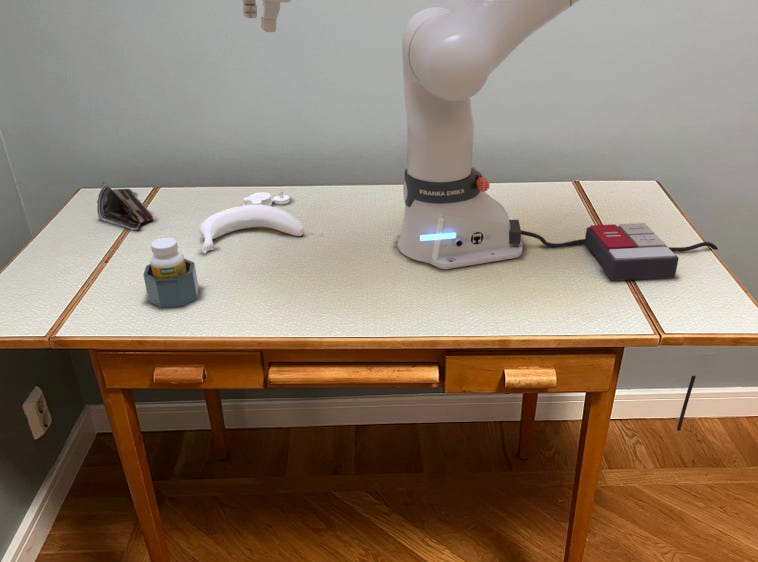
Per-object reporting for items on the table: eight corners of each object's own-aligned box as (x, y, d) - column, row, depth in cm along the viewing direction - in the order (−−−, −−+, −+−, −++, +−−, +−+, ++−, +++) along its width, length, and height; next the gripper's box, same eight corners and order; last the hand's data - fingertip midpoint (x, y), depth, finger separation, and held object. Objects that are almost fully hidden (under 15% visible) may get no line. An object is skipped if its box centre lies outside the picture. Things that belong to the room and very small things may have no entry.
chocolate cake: (168, 221, 149) (140, 170, 149) (141, 224, 143) (112, 170, 144) (143, 246, 154) (116, 196, 155) (116, 250, 148) (88, 198, 149)
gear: (272, 217, 148) (271, 207, 147) (234, 212, 151) (233, 202, 150) (292, 199, 156) (291, 189, 154) (255, 195, 158) (254, 185, 157)
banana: (309, 225, 145) (289, 259, 133) (217, 224, 148) (190, 257, 136) (306, 201, 142) (286, 234, 130) (212, 201, 145) (184, 233, 134)
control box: (646, 220, 134) (680, 253, 122) (642, 242, 137) (675, 277, 124) (586, 223, 134) (614, 256, 121) (583, 245, 136) (610, 280, 123)
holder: (200, 282, 126) (195, 256, 124) (196, 305, 120) (191, 278, 117) (153, 285, 126) (148, 259, 123) (147, 309, 120) (140, 281, 117)
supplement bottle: (184, 284, 126) (174, 232, 121) (195, 297, 122) (186, 244, 117) (153, 293, 124) (142, 240, 118) (164, 307, 120) (153, 253, 115)
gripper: (307, -73, 97) (302, 40, 105) (260, -90, 112) (259, 10, 120) (260, -76, 94) (258, 40, 102) (219, -93, 109) (220, 9, 117)
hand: (259, 24), depth 111 cm, fingers open, 8 cm apart
